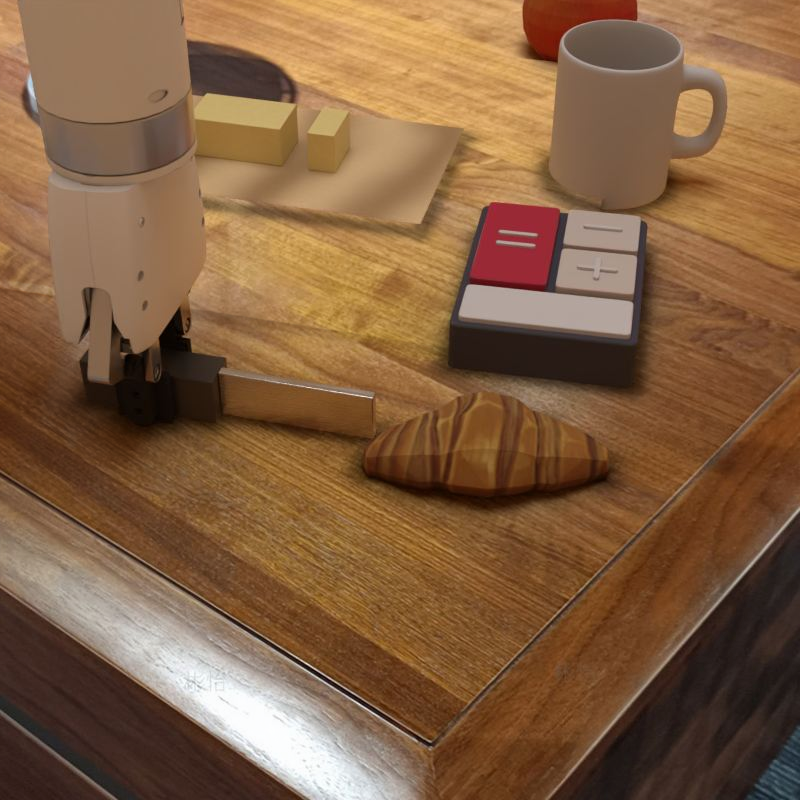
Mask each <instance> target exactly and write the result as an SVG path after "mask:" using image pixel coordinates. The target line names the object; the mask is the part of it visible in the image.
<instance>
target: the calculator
mask: <svg viewBox="0 0 800 800" xmlns="http://www.w3.org/2000/svg"><path fill="white" fill-rule="evenodd" d="M641 218H642V217H640V216H639V215H633V214H621V213H614V212H603V211H602V212H601V211H594V210H593V211H591V210H581V209H570V210H569V211H568V213H567V212H561V208H558V207H550V206H542V205H541V206H540V205H532V204H531V205H530V204H522V203H521V204H520V203H511V202H510V203H509V202H500V201H491V202H489V205H486V206H484V207H483V208H482V209H481V213H480V215H479V219H478V223H477V227H476V229H475V232H474V233H475V234H474V236H473V240H472V244H471V247H470V251H469V254H468V257H467V260H466V265H465V267H464V271H463V275H462V278H461V282H460V284H459V288H458V291H457V295H456V298H455V303H454V306H453V309H452V313H451V317H450V320H449V332H448V333H449V334H448V357H447V364H448V366H449V367H450V368H452V369H456V370H463V371H473V372H482V373H490V374H500V375H507V376H515V377H525V378H533V379H541V380H542V379H543V380H550V381H559V382H568V383H576V384H585V385H593V386H601V387H602V386H603V387H611V388H618V389H629V388H631V387H632V386H633V382H634V377H635V376H634V375H635V367H636V361H637V354H638V353H637V352H638V347H639V346H638V345H639V335H640V323H641V312H642V311H641V310H642V301H643V300H642V298H643V287H644V275H645V262H646V249H647V240H648V239H647V238H648V223H647V221H645V220H642V219H641Z"/></svg>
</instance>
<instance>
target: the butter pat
mask: <svg viewBox="0 0 800 800" xmlns="http://www.w3.org/2000/svg"><path fill="white" fill-rule="evenodd" d="M320 111H321V112H320V113H319V115H318V117H317V118H316V120H315V121H314V123H313V124H312V126H311V127H310V129H309V131H308V132H307V143H308V164H309V170H314V171H321V172H329V173H335V172H336V171H337V169H338V167H339V166H340V164H341V162H342V160H343V159H344V157H345V155H346V153H347V152H348V150H349V148H350V110H348V109H340V108H332V107H322V109H321V110H320Z"/></svg>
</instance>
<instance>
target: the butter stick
mask: <svg viewBox="0 0 800 800" xmlns="http://www.w3.org/2000/svg"><path fill="white" fill-rule="evenodd" d="M203 96H204V97H203V99H202V100H201V101H200V102H199V104H198V105H197V106H196V107H195V109H194V117H195V127H196V137H197V148H196V151H195V154H194V155H200V156H208V157H215V158H223V159H231V160H238V161H246V162H253V163H261V164H268V165H276V166H282V165H283V164H284V162H285V160H286V159H287V157H288V156H289V154H290V153H291V151H292V150H293V148H294V146H295V145H296V143H297V142H298V122H297V108H298V106H297V103H291V102H282V101H275V100H274V101H273V100H265V99H258V98H249V97H242V96H234V95H233V96H232V95H225V94H218V93H217V94H216V93H210V92H207V93H205V95H203Z"/></svg>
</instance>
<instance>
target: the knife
mask: <svg viewBox="0 0 800 800" xmlns="http://www.w3.org/2000/svg"><path fill="white" fill-rule="evenodd" d="M129 346H130V344H124V343H123V351H124V353H130V354H134V353H133V351H132V349H130V348H129ZM88 353H89V347H87V349H86V350H85V351H84V352H83V355H82V356H81V358H79V361H78V363H79V366H80V367H79V369H80V374H81V379H82V384H83V388H84V394H85V399H86V402H89V403H94V404H101V405H106V406H112V407H118V408H119V406H118V400H117V394H116V389H115V384H113V385H108V384H102V383H96V382H90V381H89V380H88V375H87V373H88ZM160 354H161V362H162V370H164V371H167V372H169V373H170V380H171V388H172V395H173V403H174V410H175V418H176V417H178V418H182V419H187V420H188V419H189V420H194V421H200V422H204V423H205V422H207V423H212V424H217V423H218V421H219V419H220V418H221V416H222V414H223V415H228V416H235V417H241V418H246V419H251V420H252V419H253V420H258V421H264V422H269V423H275V424H280V425H287V426H293V427H299V428H305V429H310V430H318V431H322V432H329V433H335V434H340V435H346V436H351V437H352V436H353V437H357V438H363V439H368V440H371V439H373V438H375V437H376V434H377V409H376V407H377V406H376V403H377V401H376V400H377V399H376V392H375V391H370V390H365V389H358V388H353V387H346V386H342V385H341V386H340V385H335V384H328V383H322V382H317V381H316V382H314V381H309V380H304V379H297V378H291V377H285V376H278V375H274V374H273V375H272V374H266V373H261V372H256V371H255V372H254V371H249V370H242V369H236V368H230V367H228V363H227V357H225V356H218V355H212V354H206V353H200V352H194V351H192V352H188V351H181V350H174V349H168V348H162V347H160ZM136 355H139V356H141V357H142V352H141V353H138V354H136Z"/></svg>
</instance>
